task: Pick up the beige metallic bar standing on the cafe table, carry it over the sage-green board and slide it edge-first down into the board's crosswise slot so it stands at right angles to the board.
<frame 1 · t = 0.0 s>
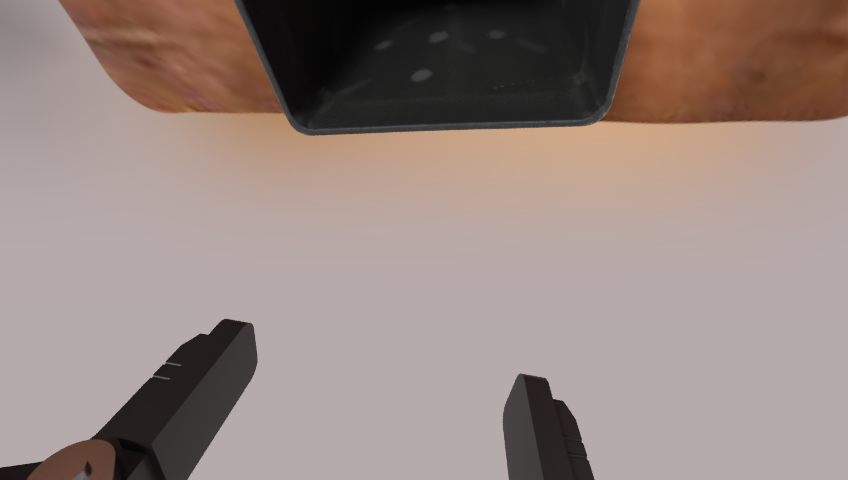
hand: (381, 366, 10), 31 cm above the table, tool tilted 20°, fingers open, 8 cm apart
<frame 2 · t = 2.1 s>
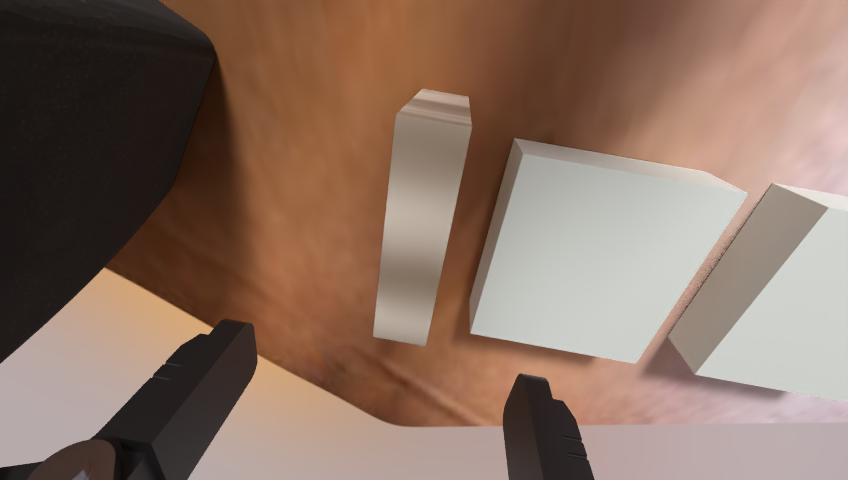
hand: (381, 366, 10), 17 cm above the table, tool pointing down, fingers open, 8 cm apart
beige metallic bar: (430, 180, 25), on the table
flower pot: (108, 65, 23), on the table
slotted board: (683, 264, 26), on the table
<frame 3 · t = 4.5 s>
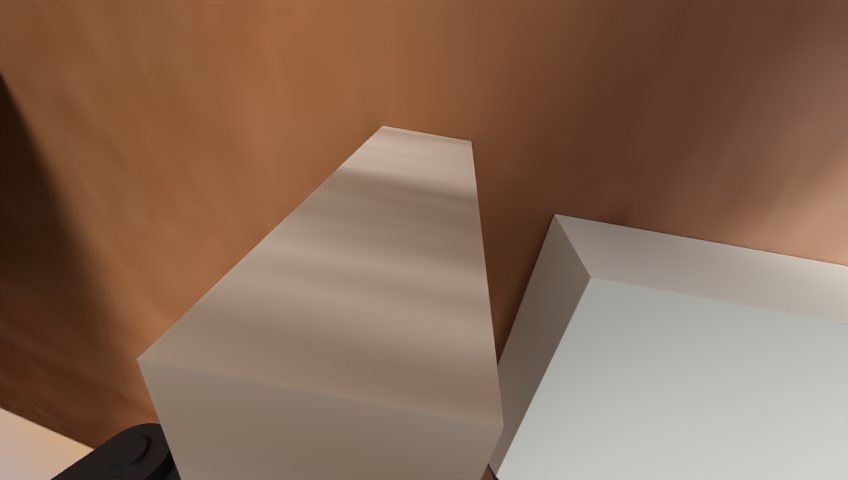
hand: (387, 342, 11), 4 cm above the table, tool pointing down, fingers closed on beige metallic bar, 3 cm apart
beige metallic bar: (404, 278, 14), on the table, touching gripper
slotted board: (827, 409, 16), on the table
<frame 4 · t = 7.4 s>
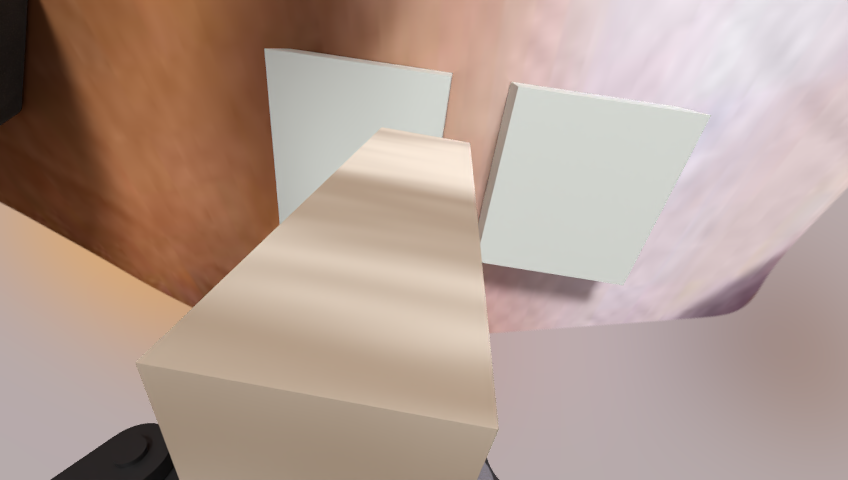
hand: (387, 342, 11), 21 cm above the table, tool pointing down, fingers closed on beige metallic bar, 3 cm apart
beige metallic bar: (403, 279, 14), point 18 cm above the table, touching gripper
slotted board: (464, 165, 30), on the table
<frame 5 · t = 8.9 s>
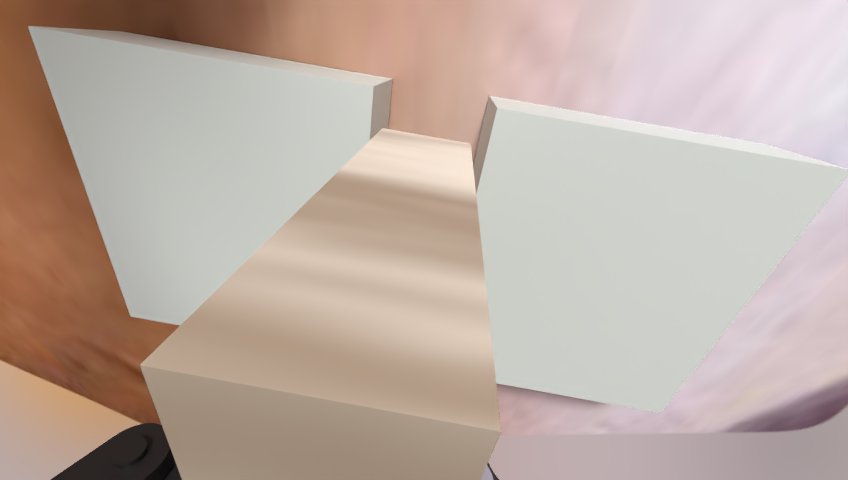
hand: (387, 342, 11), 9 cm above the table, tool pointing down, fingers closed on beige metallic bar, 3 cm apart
beige metallic bar: (404, 279, 14), point 6 cm above the table, touching gripper
slotted board: (419, 221, 19), on the table
when the fingers open (5 cm above the table, at t = 10.4 s): beige metallic bar drops 2 cm, on the table.
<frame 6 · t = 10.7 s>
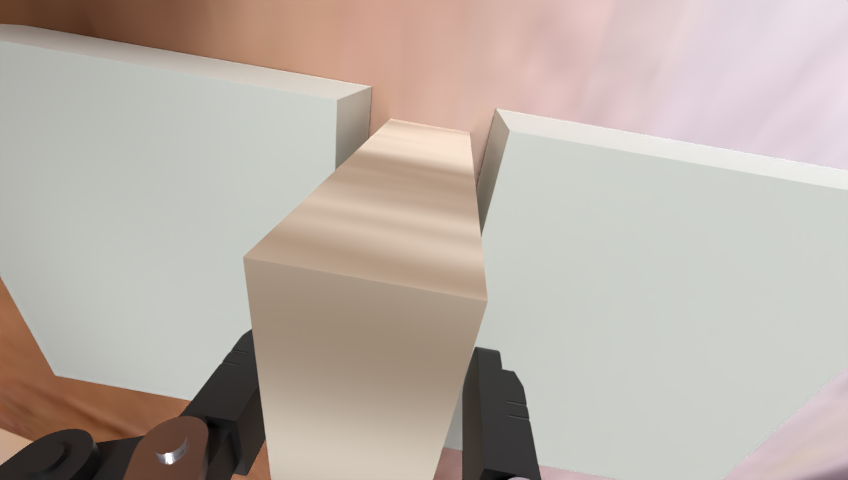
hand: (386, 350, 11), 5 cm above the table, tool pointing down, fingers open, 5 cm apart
beige metallic bar: (409, 259, 16), on the table
slotted board: (408, 260, 16), on the table
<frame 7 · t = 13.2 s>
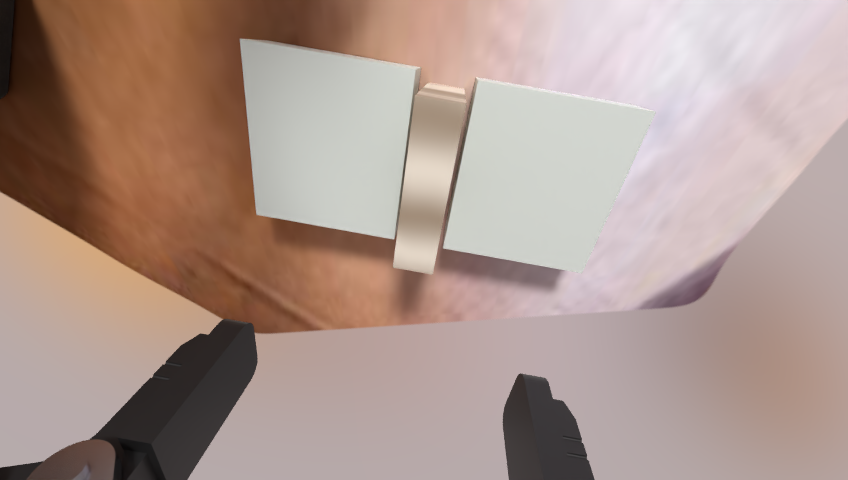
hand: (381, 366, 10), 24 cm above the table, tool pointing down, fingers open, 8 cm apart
beige metallic bar: (434, 156, 31), on the table
slotted board: (434, 156, 31), on the table
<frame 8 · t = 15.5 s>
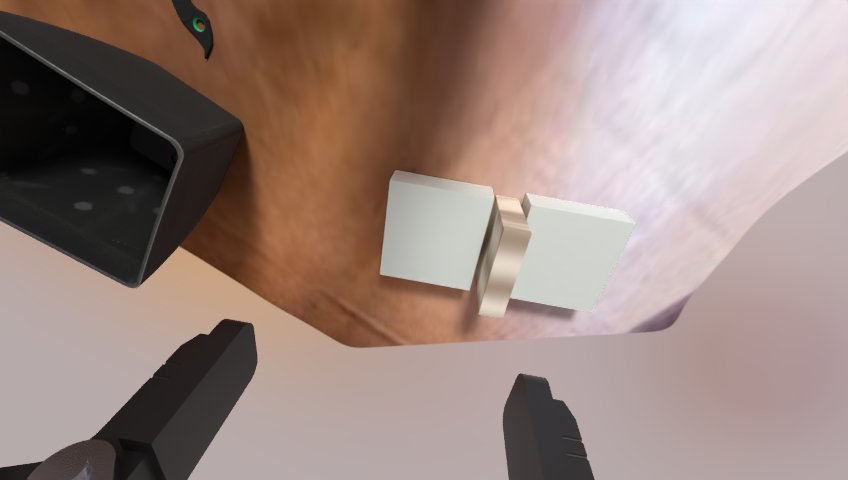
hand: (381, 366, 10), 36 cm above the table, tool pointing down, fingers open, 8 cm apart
beige metallic bar: (495, 236, 48), on the table
flower pot: (186, 132, 45), on the table
slotted board: (495, 236, 48), on the table
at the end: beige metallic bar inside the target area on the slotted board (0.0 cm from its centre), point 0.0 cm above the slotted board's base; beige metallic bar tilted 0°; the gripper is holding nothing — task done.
